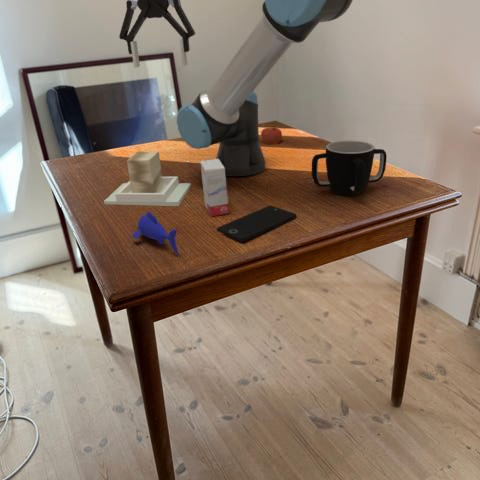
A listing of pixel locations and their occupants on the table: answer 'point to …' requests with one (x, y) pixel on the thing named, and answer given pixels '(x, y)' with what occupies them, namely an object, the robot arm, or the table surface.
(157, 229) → the fish toy
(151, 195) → the chassis bay
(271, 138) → the apple
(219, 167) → the ink box
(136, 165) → the tan wooden block
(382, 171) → the mug
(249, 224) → the cell phone
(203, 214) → the table surface
